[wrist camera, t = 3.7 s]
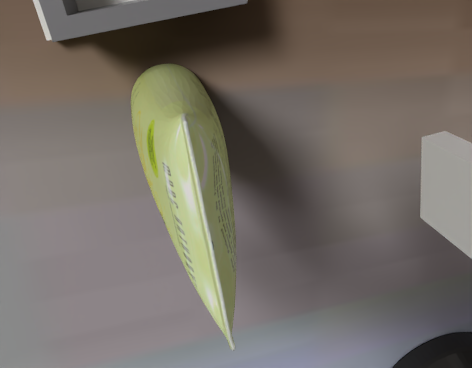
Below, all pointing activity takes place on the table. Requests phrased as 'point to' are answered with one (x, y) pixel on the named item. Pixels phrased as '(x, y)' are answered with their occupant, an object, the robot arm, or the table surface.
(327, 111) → the table surface
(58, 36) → the grey and white box
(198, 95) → the tube
